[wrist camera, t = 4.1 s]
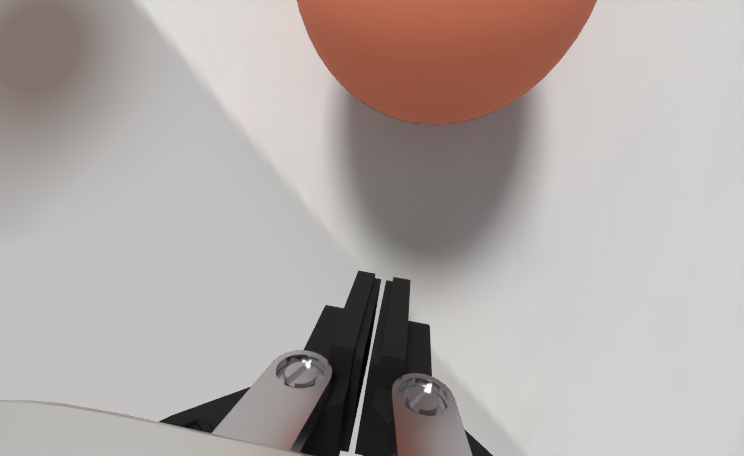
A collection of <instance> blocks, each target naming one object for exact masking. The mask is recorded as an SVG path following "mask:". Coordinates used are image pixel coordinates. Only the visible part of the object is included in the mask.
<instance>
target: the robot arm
mask: <svg viewBox="0 0 744 456" xmlns="http://www.w3.org/2000/svg"><path fill="white" fill-rule="evenodd" d="M380 283H381V279H376V278H375V274H374V273H368V272H363V271H358V273H357V276H356V279H355V281H354V284H353V287H352V289H351V292H350V294H349V297H348V299H347V302H346V304H345V307H344V308H339V307H333V306H328V305H326V306H325V307H324V310H323V311H322V314H321V316H320V318H319V320H318V322H317V324H316V326H315V328H314V330H313V332H312V334H311V336H310V338H309V340H308V342H307V344H306V346H305V348H304V350H296V351H291V352H287V353H285V354H283V355H280V356H279V357H277V358H276V359H275V360H274V361H273V362H272V363H271V364H270V366H269V367H268V368H267V369H266V370H265V371H264V372H263V374H262V375H261V376H260V377H259V378H258V380H257V381H256V382H255V383H254V384H253V385H252V387H249V388H246V389H243V390H241V391H238V392H235V393H232V394H230V395H227V396H224V397H221V398H219V399H216V400H213V401H210V402H208V403H205V404H202V405H199V406H197V407H194V408H191V409H188V410H186V411H183V412H180V413H177V414H175V415H172V416H170V417H168V418H166V419H163V420H161V421H159V422H156V421H152V420H147V419H143V418H138V417H133V416H129V415H124V414H119V413H114V412H108V411H102V410H96V409H91V408H85V407H80V406H74V405H69V404H62V403H53V402H43V401H10V400H9V401H8V400H5V401H4V400H2V401H1V400H0V456H339V454H340V450H341V451H346V452H348V451H349V446H350V442H351V437H352V432H353V427H354V422H355V418H356V413H357V408H358V404H359V399H360V394H361V389H362V385H363V379H364V375H365V371H366V365H367V361H368V356H369V350H370V344H371V338H372V332H373V326H374V320H375V314H376V308H377V301H378V295H379V289H380ZM409 296H410V280H407V279H401V278H396V277H394V278H393V281H387V280H386V284H385V289H384V294H383V299H382V304H381V309H380V314H379V319H378V324H377V329H376V334H375V339H374V345H373V349H372V355H371V360H370V366H369V372H368V378H367V384H366V390H365V396H364V402H363V408H362V414H361V420H360V426H359V432H358V438H357V444H356V450H355V454H359V455H363V456H493V455H491V454H490V453H489V452H488V451H487V450H486V449H485V448H484V447H483V446H482V445H481V444H480V443H478V441H476V440H475V439H474V438H473V437H472V436H471V435H470V434H469V433H468V432H467V431H466V430H465V429H464V427H463V424H462V420H461V417H460V414H459V411H458V407H457V405H456V401H455V398H454V396H453V394H452V392H451V391H450V389H449V388H448V387H447V386H446V385H445V384H443V383H442V382H440V381H439V380H438V379H436V378H434V377H432V369H431V345H430V326H429V325H428V324H422V323H417V322H412V321H408V313H409Z"/></svg>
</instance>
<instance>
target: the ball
mask: <svg viewBox="0 0 744 456" xmlns="http://www.w3.org/2000/svg"><path fill="white" fill-rule="evenodd" d="M596 1H597V0H297V2H298V6H299V11H300V14H301V16H302V19H303V22H304V25H305V27H306V30H307V33H308V35H309V37H310V39H311V41H312V43H313V45H314V47H315V49H316V51H317V53H318V55H319V56H320V58H321V59H322V61H323V62H324V64H325V65H326V67H327V68H328V70H329V71H330V72H331V73H332V75H333V76H334V77H335V78H336V79H337V80H338V81H339V83H340V84H341V85H342V86H343V87H344V88H346V89H347V90H348V91H349V92H350V93H351V94H352V95H354V96H355V97H356V98H357V99H359V100H360V101H362V102H363V103H365V104H366V105H368V106H369V107H371V108H373V109H375V110H377V111H379V112H381V113H383V114H385V115H387V116H390V117H393V118H396V119H399V120H402V121H407V122H412V123H418V124H432V125H440V124H451V123H458V122H462V121H467V120H471V119H475V118H477V117H480V116H483V115H486V114H488V113H491V112H494V111H496V110H497V109H499V108H501V107H503V106H505V105H507V104H509V103H511V102H513V101H514V100H516V99H517V98H519V97H520V96H522V95H523V94H525V93H526V92H528V91H529V90H530V89H531V88H532V87H533V86H535V85H536V84H537V83H538V82H539V81H541V80H542V79H543V78H544V77H545V76H546V75H547V74H548V73H549V72H550V71H551V70H552V68H553V67H554V66H555V65H556V64H557V63H558V62H559V61H560V60H561V58H562V57H563V56H564V55H565V53H566V52H567V51H568V49H569V48H570V47H571V45H572V44H573V42H574V41H575V40H576V38H577V37H578V35H579V34H580V32H581V30H582V29H583V27H584V25H585V23H586V22H587V20H588V18H589V17H590V15H591V12H592V10H593V8H594V6H595V3H596Z"/></svg>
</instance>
